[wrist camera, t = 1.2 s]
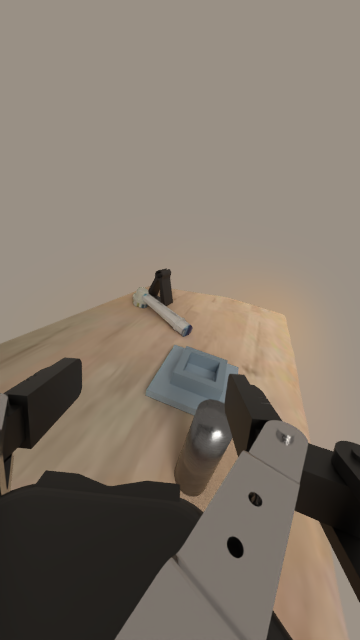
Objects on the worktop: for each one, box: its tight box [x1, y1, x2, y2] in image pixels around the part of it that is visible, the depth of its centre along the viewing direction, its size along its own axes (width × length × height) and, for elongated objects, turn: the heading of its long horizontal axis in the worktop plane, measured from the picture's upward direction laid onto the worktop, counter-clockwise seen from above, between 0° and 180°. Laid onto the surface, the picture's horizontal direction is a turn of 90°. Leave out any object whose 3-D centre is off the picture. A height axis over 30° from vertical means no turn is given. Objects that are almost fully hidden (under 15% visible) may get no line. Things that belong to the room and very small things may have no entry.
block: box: [146, 345, 238, 416], centre depth 41 cm, size 16×16×4 cm
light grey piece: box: [133, 287, 192, 337], centre depth 63 cm, size 5×7×25 cm
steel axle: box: [174, 399, 232, 496], centre depth 24 cm, size 4×4×12 cm
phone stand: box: [148, 269, 173, 306], centre depth 73 cm, size 9×6×12 cm, turn 63°
